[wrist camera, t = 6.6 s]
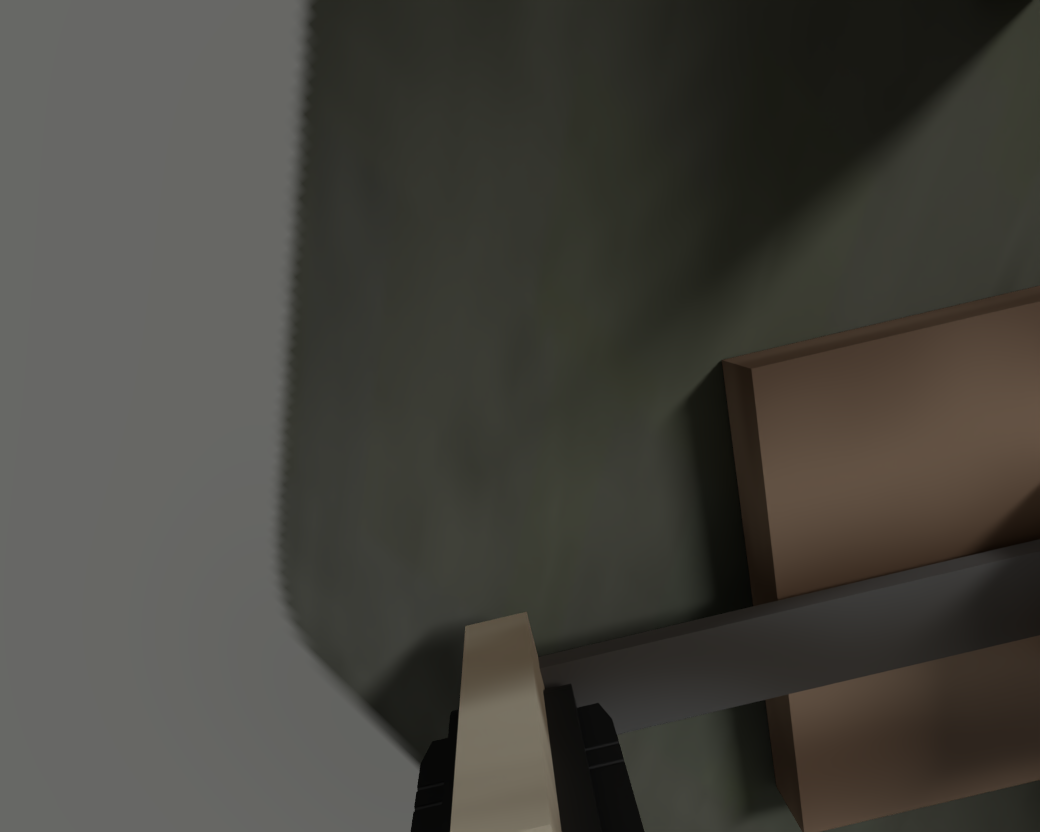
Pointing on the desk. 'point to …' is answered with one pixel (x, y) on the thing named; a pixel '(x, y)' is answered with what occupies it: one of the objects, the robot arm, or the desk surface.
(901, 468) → the wooden plunger housing
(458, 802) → the wooden plunger
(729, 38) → the desk surface
